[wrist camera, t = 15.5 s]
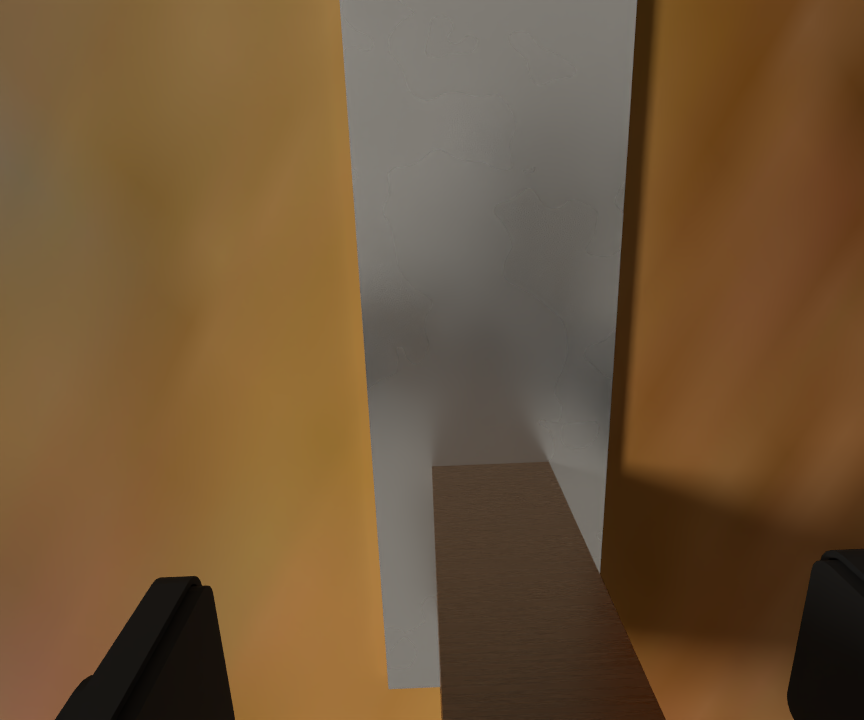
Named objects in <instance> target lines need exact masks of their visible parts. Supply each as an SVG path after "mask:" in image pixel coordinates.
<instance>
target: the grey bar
mask: <svg viewBox="0 0 864 720" xmlns="http://www.w3.org/2000/svg"><path fill="white" fill-rule="evenodd" d="M636 10H637V0H340V12H341V26H342V40H343V54H344V68H345V82H346V96H347V110H348V124H349V138H350V152H351V166H352V180H353V194H354V209H355V223H356V237H357V251H358V265H359V279H360V293H361V307H362V321H363V335H364V349H365V363H366V377H367V391H368V405H369V419H370V433H371V447H372V461H373V475H374V489H375V503H376V518H377V532H378V546H379V560H380V574H381V588H382V602H383V616H384V630H385V644H386V658H387V672H388V686H389V689H402V688H425V687H440V694H441V718H442V720H666V719H665V717H664V715H663V713H662V710H661V708H660V706H659V704H658V702H657V699H656V697H655V695H654V693H653V691H652V688H651V686H650V684H649V682H648V679H647V677H646V675H645V673H644V671H643V668H642V666H641V664H640V662H639V660H638V657H637V655H636V653H635V651H634V649H633V646H632V644H631V642H630V640H629V638H628V635H627V633H626V631H625V629H624V626H623V624H622V622H621V620H620V618H619V615H618V613H617V611H616V609H615V607H614V604H613V602H612V600H611V598H610V596H609V593H608V591H607V589H606V587H605V584H604V582H603V580H602V578H601V576H600V565H601V550H602V534H603V519H604V503H605V488H606V473H607V457H608V442H609V426H610V411H611V395H612V380H613V365H614V349H615V334H616V318H617V303H618V287H619V272H620V257H621V241H622V226H623V210H624V195H625V179H626V164H627V149H628V133H629V118H630V102H631V87H632V71H633V56H634V41H635V25H636Z"/></svg>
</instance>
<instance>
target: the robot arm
mask: <svg viewBox="0 0 864 720" xmlns="http://www.w3.org/2000/svg"><path fill="white" fill-rule="evenodd" d="M787 700H788V706H789V709H790V712H791V714H792V717H793V718H794V720H864V549H848V550H830V551H826V552H825V553H824V554H823V555H822V557H821V560H820V561H816V562H815V563H814V564H813V567H812V570H811V575H810V581H809V586H808V591H807V596H806V601H805V606H804V611H803V616H802V621H801V626H800V631H799V636H798V641H797V646H796V651H795V656H794V661H793V666H792V671H791V677H790V682H789V687H788V692H787ZM55 720H235V717H234V711H233V705H232V699H231V693H230V688H229V682H228V676H227V670H226V665H225V659H224V653H223V647H222V642H221V636H220V630H219V625H218V619H217V613H216V607H215V602H214V596H213V591H212V589H211V587H210V586H202V585H201V581H200V580H199V578H198V577H196V576H187V577H162V578H158V579H156V580H155V581H154V582H153V584H152V585H151V587H150V588H149V590H148V591H147V593H146V594H145V596H144V597H143V599H142V600H141V602H140V603H139V605H138V607H137V608H136V610H135V611H134V613H133V614H132V616H131V617H130V619H129V620H128V622H127V623H126V625H125V627H124V628H123V630H122V631H121V633H120V634H119V636H118V637H117V639H116V640H115V642H114V643H113V645H112V647H111V648H110V650H109V651H108V653H107V654H106V656H105V657H104V659H103V660H102V662H101V663H100V665H99V667H98V668H97V670H96V671H95V673H94V674H93V675H91V676H89V677H87V678H86V679H84V680H83V681H82V682H81V683H80V684H79V686H78V687H77V688H76V689H75V690H74V692H73V693H72V695H71V696H70V698H69V699H68V701H67V702H66V704H65V705H64V707H63V708H62V710H61V711H60V713H59V714H58V716H57V717H56V719H55Z"/></svg>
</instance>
